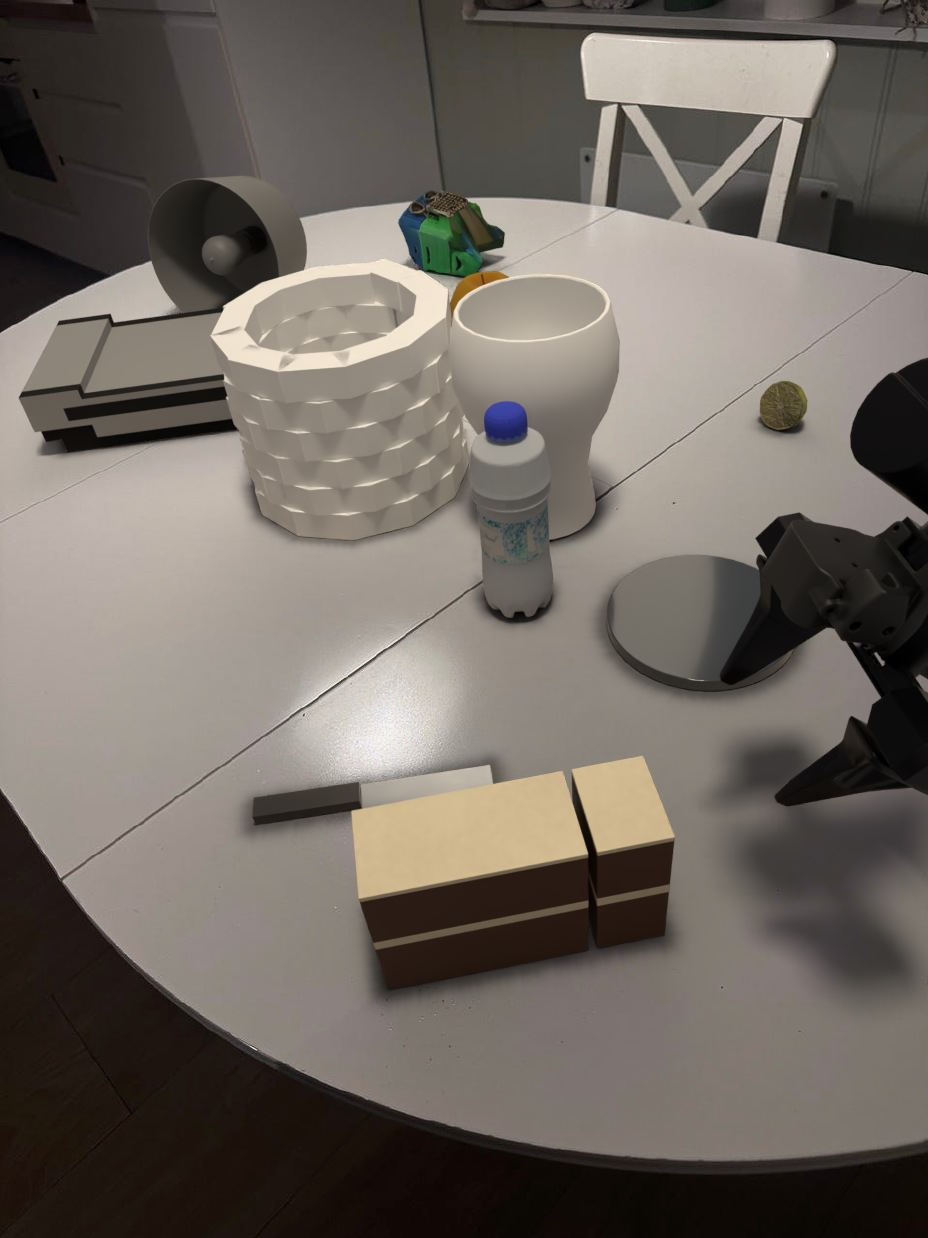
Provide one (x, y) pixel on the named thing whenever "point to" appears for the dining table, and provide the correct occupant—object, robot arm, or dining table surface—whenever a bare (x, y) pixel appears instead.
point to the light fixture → (222, 239)
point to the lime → (783, 405)
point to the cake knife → (365, 794)
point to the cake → (472, 879)
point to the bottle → (512, 510)
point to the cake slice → (624, 850)
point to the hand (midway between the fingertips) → (750, 738)
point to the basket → (344, 397)
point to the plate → (685, 619)
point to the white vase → (541, 373)
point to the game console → (128, 381)
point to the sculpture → (448, 233)
